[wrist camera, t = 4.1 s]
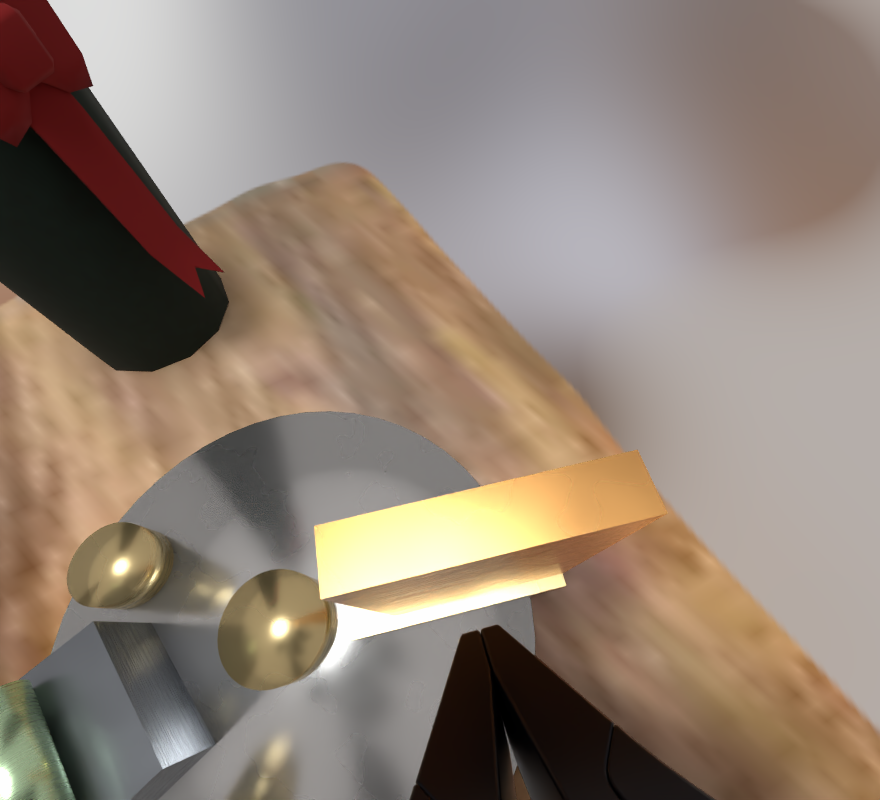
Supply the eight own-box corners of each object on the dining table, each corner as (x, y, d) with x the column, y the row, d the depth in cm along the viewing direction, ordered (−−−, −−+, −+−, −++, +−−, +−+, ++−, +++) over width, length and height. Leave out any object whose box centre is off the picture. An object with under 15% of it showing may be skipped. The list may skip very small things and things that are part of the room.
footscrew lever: (238, 697, 15) (-82, 791, 6) (237, 586, 17) (-15, 535, 8) (566, 612, 16) (702, 587, 7) (535, 514, 17) (611, 394, 9)
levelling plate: (630, 641, 17) (702, 645, 12) (208, 1180, 11) (13, 1607, 6) (345, 356, 23) (314, 282, 18) (-4, 613, 18) (-180, 606, 13)
